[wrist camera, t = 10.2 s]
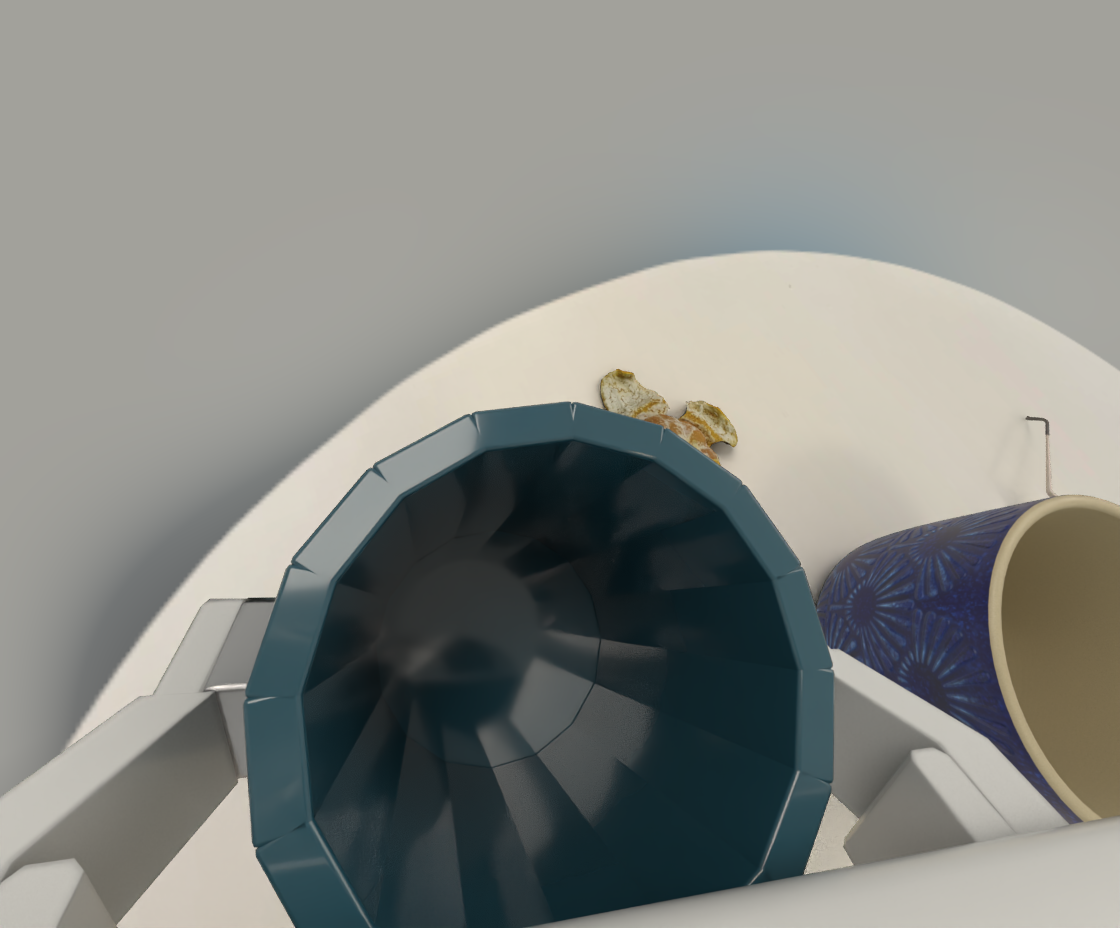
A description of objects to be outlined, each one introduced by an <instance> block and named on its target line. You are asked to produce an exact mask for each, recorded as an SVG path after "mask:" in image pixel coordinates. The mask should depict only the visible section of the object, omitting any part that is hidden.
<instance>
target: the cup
mask: <svg viewBox="0 0 1120 928" xmlns="http://www.w3.org/2000/svg"><path fill="white" fill-rule="evenodd" d="M291 563H292V565H289V566H288V567H287V568H286V570H285V573H284V576H283V579H282V582H281V585H280V588H279V591H278V594H277V597H276V600H275V603H274V606H273V609H272V612H271V615H270V618H269V620H268V623H267V626H266V629H265V632H264V635H263V638H262V641H261V644H260V647H259V650H258V653H257V656H256V659H255V662H254V665H253V668H252V671H251V674H250V676H249V679H248V682H247V685H246V688H245V696H246V697H247V698H246V699H245V700H244V703H243V717H244V732H245V747H246V762H247V777H248V792H249V807H250V822H251V837H252V843H253V846H254V847H258V848H257V849H256V858H257V859H258V861H259V863H260V865H261V867H262V868H263V870H264V872H265V874H266V876H267V877H268V879H269V881H270V883H271V885H272V887H273V888H274V890H275V892H276V894H277V896H278V897H279V899H280V901H281V903H282V905H283V906H284V908H285V910H286V912H287V914H288V915H289V917H290V919H291V921H292V923H293V925H294V926H295V928H525V927H531V926H536V925H541V924H547V923H552V922H557V921H562V920H568V919H573V918H578V917H584V916H589V915H594V914H599V913H605V912H610V911H615V910H621V909H626V908H631V907H636V906H642V905H647V904H652V903H658V902H663V901H668V900H673V899H679V898H684V897H689V896H695V895H700V894H705V893H711V892H716V891H721V890H726V889H732V888H737V887H742V886H748V885H753V884H758V883H763V882H769V881H774V880H779V879H785V878H790V877H795V876H800V875H803V874H804V871H805V868H806V865H807V862H808V859H809V856H810V853H811V850H812V847H813V845H814V842H815V839H816V836H817V833H818V830H819V827H820V824H821V821H822V818H823V815H824V812H825V809H826V806H827V803H828V800H829V798H830V795H831V792H832V786H831V785H830V783H833V780H834V685H835V674H834V670H832V669H831V668H832V667H833V662H832V659H831V655H830V652H829V649H828V646H827V642H826V639H825V636H824V633H823V629H822V626H821V623H820V620H819V616H818V613H817V610H816V607H815V604H814V600H813V597H812V594H811V591H810V587H809V584H808V581H807V578H806V574H805V571H804V569H803V568H802V567H800V565H801V563H800V561H799V559H798V558H797V557H796V555H795V554H794V552H793V551H792V549H791V548H790V547H789V545H788V544H787V542H786V541H785V540H784V538H783V537H782V535H781V534H780V532H779V531H778V530H777V528H776V527H775V525H774V524H773V523H772V521H771V520H770V518H769V517H768V515H767V514H766V513H765V511H764V510H763V508H762V507H761V506H760V504H759V503H758V501H757V500H756V498H755V497H754V496H753V494H752V493H751V491H750V490H749V489H748V487H747V486H746V485H742V481H741V480H740V479H738V478H737V477H736V476H734V475H733V474H731V473H730V472H729V471H727V470H726V469H724V468H723V467H722V466H720V465H719V464H717V463H716V462H715V461H713V460H712V459H711V458H709V457H708V456H706V455H705V454H704V453H702V452H701V451H699V450H698V449H697V448H695V447H694V446H692V445H691V444H690V443H688V442H687V441H685V440H684V439H683V438H681V437H680V436H678V435H677V434H676V433H674V432H673V431H672V430H670V429H668V428H665V429H664V427H663V426H662V425H659V424H655V423H651V422H648V421H644V420H640V419H637V418H633V417H629V416H626V415H622V414H618V413H615V412H611V411H607V410H604V409H600V408H596V407H592V406H589V405H585V404H581V403H578V402H573V403H572V404H571V402H558V403H549V404H540V405H531V406H522V407H513V408H504V409H495V410H486V411H477V412H474V413H472V415H470V414H467V415H464V416H462V417H460V418H458V419H456V420H455V421H453V422H451V423H449V424H447V425H445V426H443V427H441V428H440V429H438V430H436V431H434V432H432V433H430V434H428V435H427V436H425V437H423V438H421V439H419V440H417V441H415V442H413V443H412V444H410V445H408V446H406V447H404V448H402V449H400V450H398V451H397V452H395V453H393V454H391V455H389V456H387V457H385V458H384V459H382V460H380V461H378V462H376V463H375V464H374V465H373V468H370V469H368V470H366V471H365V473H364V474H363V475H362V476H361V477H360V479H359V480H358V481H357V482H356V483H355V484H354V486H353V487H352V488H351V489H350V490H349V492H348V493H347V494H346V495H345V496H344V497H343V499H342V500H341V501H340V502H339V503H338V505H337V506H336V507H335V508H334V509H333V510H332V512H331V513H330V514H329V515H328V516H327V518H326V519H325V520H324V521H323V522H322V523H321V525H320V526H319V527H318V528H317V529H316V530H315V532H314V533H313V534H312V535H311V536H310V538H309V539H308V540H307V541H306V542H305V543H304V545H303V546H302V547H301V548H300V549H299V551H298V552H297V553H296V554H295V555H294V556H293V558H292V561H291Z"/></svg>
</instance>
